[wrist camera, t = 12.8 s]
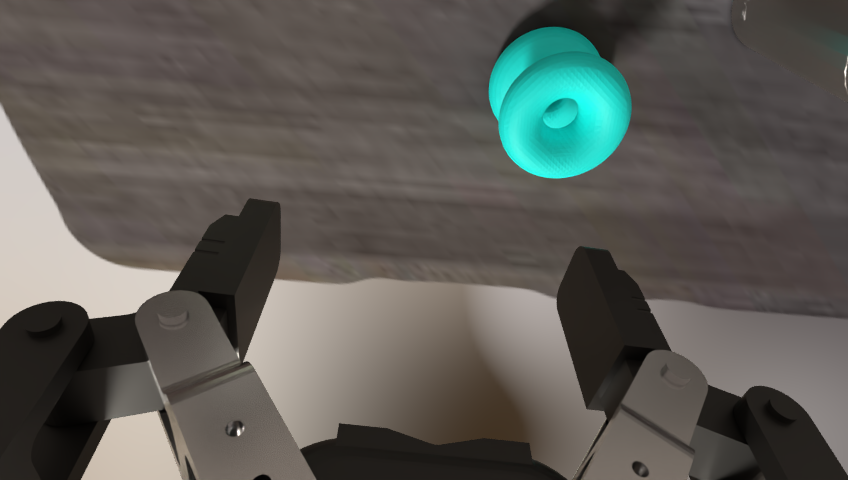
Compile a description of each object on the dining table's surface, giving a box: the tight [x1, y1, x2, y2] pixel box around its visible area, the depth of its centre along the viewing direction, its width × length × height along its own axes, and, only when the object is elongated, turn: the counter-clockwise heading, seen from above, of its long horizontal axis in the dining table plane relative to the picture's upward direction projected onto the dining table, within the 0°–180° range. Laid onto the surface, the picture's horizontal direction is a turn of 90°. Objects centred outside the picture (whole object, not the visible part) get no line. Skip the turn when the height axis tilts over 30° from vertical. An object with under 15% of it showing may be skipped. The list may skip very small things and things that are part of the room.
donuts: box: [489, 27, 632, 178], centre depth 42 cm, size 10×10×10 cm
